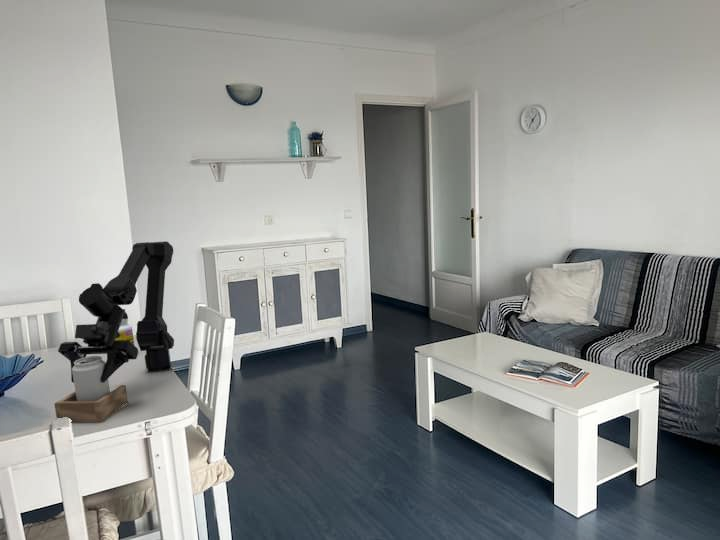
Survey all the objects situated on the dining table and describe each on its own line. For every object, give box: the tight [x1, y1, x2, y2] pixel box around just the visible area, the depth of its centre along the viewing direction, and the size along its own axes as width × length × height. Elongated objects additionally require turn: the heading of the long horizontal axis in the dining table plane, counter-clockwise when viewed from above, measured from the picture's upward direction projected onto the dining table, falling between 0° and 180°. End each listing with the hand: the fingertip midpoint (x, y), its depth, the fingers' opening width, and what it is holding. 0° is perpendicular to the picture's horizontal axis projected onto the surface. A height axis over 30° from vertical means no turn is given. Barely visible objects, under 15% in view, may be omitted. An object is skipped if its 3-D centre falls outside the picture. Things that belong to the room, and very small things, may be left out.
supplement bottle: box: [115, 319, 135, 346], centre depth 183 cm, size 7×7×13 cm
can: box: [72, 355, 111, 401], centre depth 135 cm, size 8×8×12 cm
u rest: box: [54, 384, 129, 423], centre depth 135 cm, size 11×11×5 cm
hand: (87, 382), depth 133 cm, fingers closed on can, 7 cm apart
